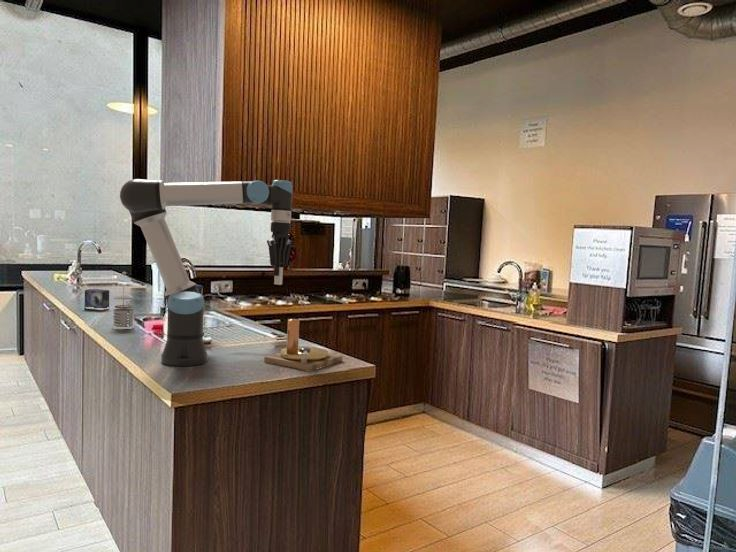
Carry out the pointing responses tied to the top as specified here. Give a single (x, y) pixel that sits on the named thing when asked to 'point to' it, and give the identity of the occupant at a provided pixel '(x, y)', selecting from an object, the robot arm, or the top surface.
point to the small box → (97, 298)
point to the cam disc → (295, 351)
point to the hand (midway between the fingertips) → (278, 284)
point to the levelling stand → (302, 361)
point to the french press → (123, 311)
